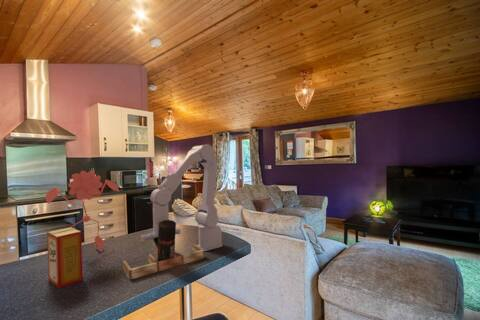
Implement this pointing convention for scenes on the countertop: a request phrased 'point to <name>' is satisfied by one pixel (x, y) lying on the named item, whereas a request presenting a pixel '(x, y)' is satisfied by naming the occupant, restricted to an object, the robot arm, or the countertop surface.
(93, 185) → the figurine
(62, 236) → the baking soda box
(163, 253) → the deodorant
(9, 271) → the countertop surface
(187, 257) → the bay rack
